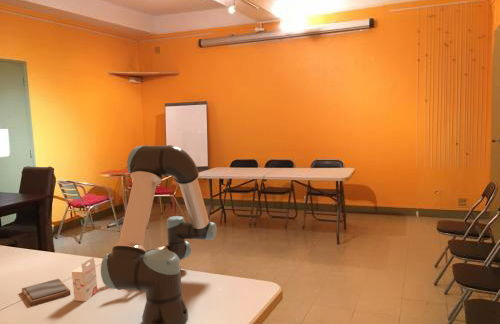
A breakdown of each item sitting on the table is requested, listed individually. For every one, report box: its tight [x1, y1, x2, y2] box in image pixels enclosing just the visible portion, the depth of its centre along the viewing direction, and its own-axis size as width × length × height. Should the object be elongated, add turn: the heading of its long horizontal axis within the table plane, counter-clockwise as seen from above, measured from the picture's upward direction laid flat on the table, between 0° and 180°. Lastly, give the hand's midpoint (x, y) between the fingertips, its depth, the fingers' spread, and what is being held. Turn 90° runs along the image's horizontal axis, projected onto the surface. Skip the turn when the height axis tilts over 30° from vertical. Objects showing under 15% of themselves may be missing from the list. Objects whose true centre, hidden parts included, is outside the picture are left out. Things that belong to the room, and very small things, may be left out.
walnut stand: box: [21, 278, 71, 307], centre depth 165 cm, size 16×14×2 cm
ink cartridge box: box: [71, 256, 98, 302], centre depth 161 cm, size 9×5×15 cm, turn 168°
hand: (108, 270), depth 167 cm, fingers open, 13 cm apart
